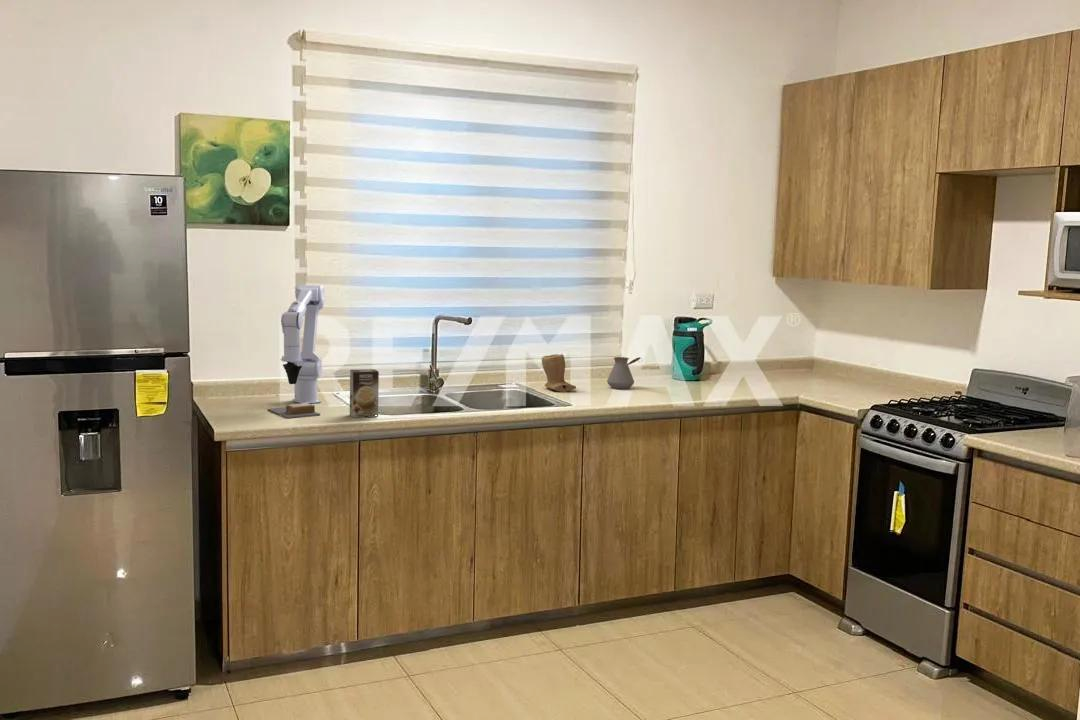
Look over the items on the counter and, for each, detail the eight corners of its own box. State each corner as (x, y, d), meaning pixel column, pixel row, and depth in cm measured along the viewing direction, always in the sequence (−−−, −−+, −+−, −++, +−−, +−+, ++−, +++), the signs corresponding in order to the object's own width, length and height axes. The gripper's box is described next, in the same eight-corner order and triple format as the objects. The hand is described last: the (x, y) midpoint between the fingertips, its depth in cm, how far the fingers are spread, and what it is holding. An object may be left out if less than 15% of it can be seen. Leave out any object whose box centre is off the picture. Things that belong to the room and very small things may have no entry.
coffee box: (352, 417, 347) (352, 372, 345) (349, 414, 353) (349, 369, 351) (379, 416, 350) (378, 371, 348) (375, 413, 356) (375, 368, 354)
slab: (286, 404, 352) (292, 407, 347) (307, 402, 356) (314, 405, 352) (286, 412, 352) (292, 414, 347) (307, 410, 357) (314, 412, 352)
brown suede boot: (537, 387, 422) (538, 352, 420) (563, 386, 426) (564, 351, 424) (549, 393, 407) (550, 356, 406) (576, 392, 411) (577, 356, 409)
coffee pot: (602, 386, 428) (602, 351, 426) (625, 385, 433) (626, 350, 431) (627, 394, 409) (628, 358, 407) (651, 392, 413) (652, 356, 412)
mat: (267, 410, 358) (267, 408, 358) (299, 407, 365) (299, 405, 365) (287, 418, 343) (287, 416, 343) (320, 415, 350) (320, 413, 350)
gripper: (273, 344, 358) (274, 381, 359) (289, 348, 346) (289, 387, 348) (292, 343, 362) (292, 380, 363) (308, 347, 350) (309, 385, 352)
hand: (292, 383), depth 356 cm, fingers closed
